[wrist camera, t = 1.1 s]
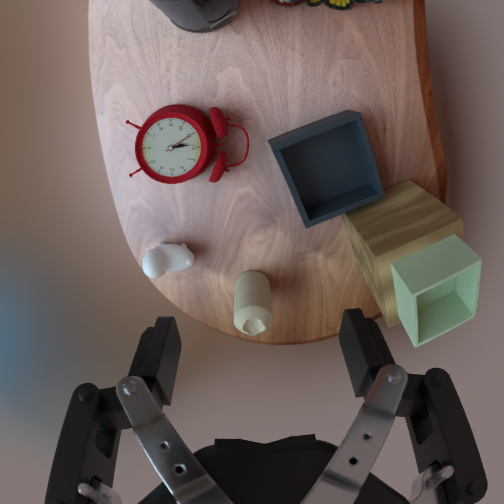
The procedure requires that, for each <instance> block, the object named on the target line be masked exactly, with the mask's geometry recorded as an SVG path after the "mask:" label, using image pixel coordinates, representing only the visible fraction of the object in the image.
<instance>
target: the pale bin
mask: <svg viewBox="0 0 504 504" xmlns="http://www.w3.org/2000/svg"><path fill="white" fill-rule="evenodd" d="M481 262H482V259H481V258H480V257H479V256H478V255H477V254H476V253H475V252H474V251H473V250H472V249H471V248H470V247H468V246H467V245H466V244H465V243H464V242H463V241H462V240H461V239H460V238H459V237H458V236H456V235H455V234H453V235H451V236H449V237H447V238H444V239H442V240H440V241H438V242H436V243H434V244H432V245H430V246H428V247H425V248H423V249H421V250H419V251H417V252H414V253H412V254H410V255H408V256H406V257H403V258H401V259H399V260H397V261H394V262H392V263H391V269H392V275H393V281H394V287H395V294H396V301H397V308H398V316H399V318H400V320H401V322H402V324H403V326H404V327H405V329H406V331H407V333H408V335H409V337H410V339H411V341H412V343H413V345H414V347H415V348H416V347H418V346H420V345H422V344H424V343H426V342H428V341H430V340H432V339H434V338H436V337H438V336H440V335H442V334H444V333H446V332H448V331H449V330H452V329H453V328H455V327H457V326H459V325H461V324H462V323H464V322H466V321H468V320H470V319H471V318H473V317H475V315H476V308H477V302H478V294H479V285H480V275H481Z"/></svg>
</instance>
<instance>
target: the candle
mask: <svg viewBox="0 0 504 504" xmlns="http://www.w3.org/2000/svg"><path fill="white" fill-rule="evenodd" d="M234 324H235V326H236V328H237V329H238V330H240V331H241V332H243V333H246V334H249V335H251V336H255V335H257V334H260V333H263V332H265V331H267V330H268V329H269V328H270V327H271V326H272V324H273V310H272V301H271V292H270V284H269V280H268V278H267V277H266V276H265V275H264V274H263V273H261V272H258V271H247V272H245V273H243V274H241V275H240V276H239V277H238V278H237V280H236V284H235V302H234Z"/></svg>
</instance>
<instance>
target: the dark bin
mask: <svg viewBox="0 0 504 504" xmlns="http://www.w3.org/2000/svg"><path fill="white" fill-rule="evenodd" d="M268 142H269V144H270V146H271V149H272V151H273V153H274V155H275V158H276V160H277V162H278V164H279V166H280V169H281V171H282V173H283V176H284V178H285V180H286V182H287V185H288V187H289V189H290V192H291V194H292V196H293V199H294V201H295V204H296V206H297V208H298V211H299V213H300V216H301V218H302V220H303V223H304V225H305V228H308V227H311V226H313V225H316V224H318V223H321V222H323V221H326V220H328V219H331V218H333V217H336V216H338V215H341V214H343V213H346V212H348V211H351V210H353V209H355V208H358V207H360V206H363V205H365V204H368V203H370V202H373V201H375V200H378V199H380V198H383V197H385V193H384V189H383V185H382V181H381V178H380V174H379V170H378V167H377V163H376V160H375V156H374V153H373V150H372V147H371V143H370V140H369V137H368V134H367V131H366V128H365V125H364V122H363V119H362V116H361V113H359V112H355V111H350V110H346V111H343V112H340V113H337V114H335V115H332V116H329V117H326V118H323V119H321V120H318V121H315V122H313V123H310V124H307V125H305V126H302V127H300V128H297V129H295V130H292V131H289V132H287V133H285V134H282V135H280V136H277V137H275V138H272V139H270V140H268Z"/></svg>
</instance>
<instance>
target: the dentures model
mask: <svg viewBox="0 0 504 504" xmlns="http://www.w3.org/2000/svg"><path fill="white" fill-rule="evenodd" d="M271 1H272V2H274V3H275V4H278V5H281V6H286V7H291V6H296V5H298V4H300V3H301V2H303V0H271Z"/></svg>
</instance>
